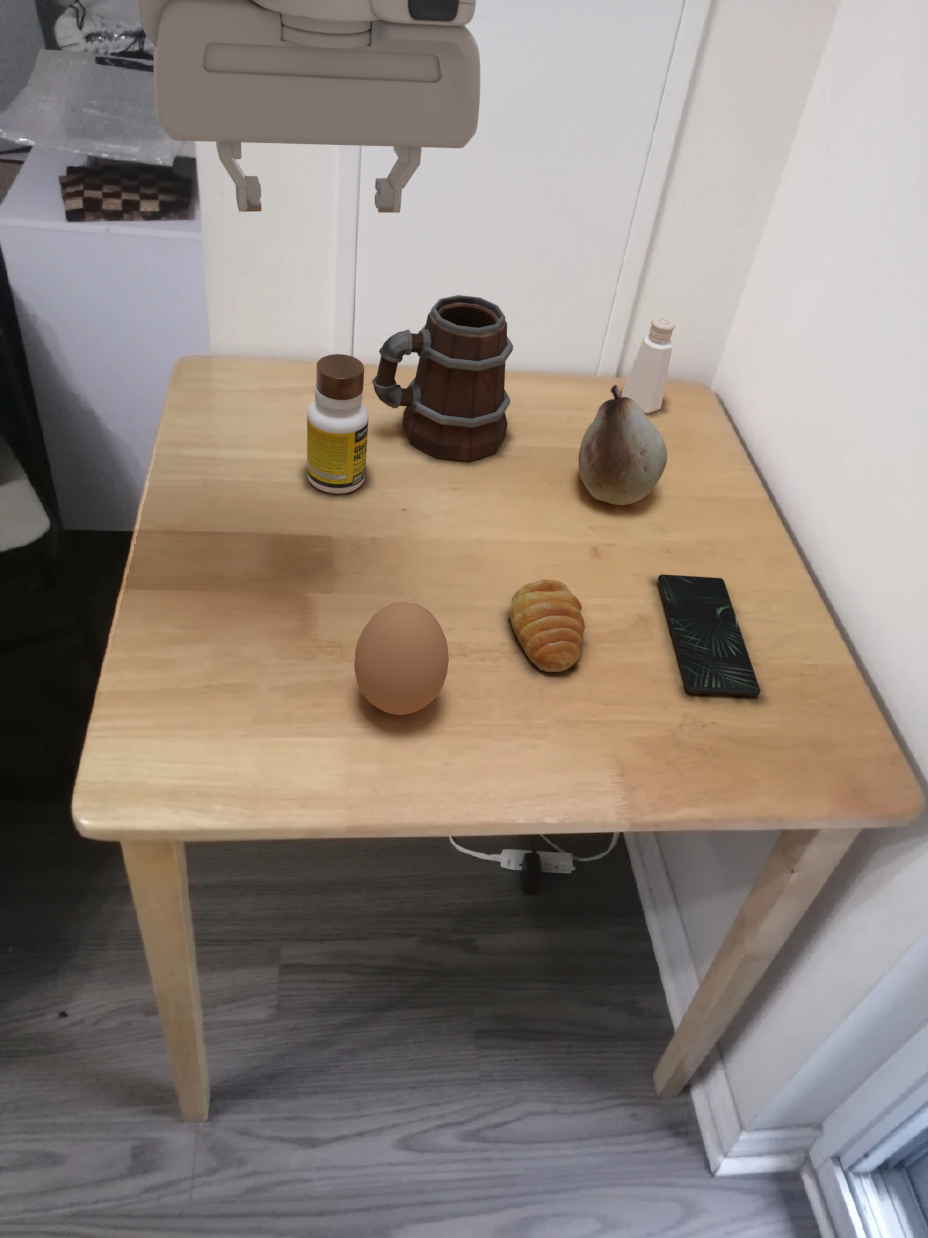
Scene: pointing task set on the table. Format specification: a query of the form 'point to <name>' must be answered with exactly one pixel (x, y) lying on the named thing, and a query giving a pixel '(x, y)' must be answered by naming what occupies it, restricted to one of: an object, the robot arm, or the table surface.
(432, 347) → the mug
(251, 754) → the table surface
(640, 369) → the pepper shaker
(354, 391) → the brown bottle cap
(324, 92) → the robot arm
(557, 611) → the pastry
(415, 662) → the egg
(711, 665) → the smartphone
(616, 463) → the fruit
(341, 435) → the pill bottle
